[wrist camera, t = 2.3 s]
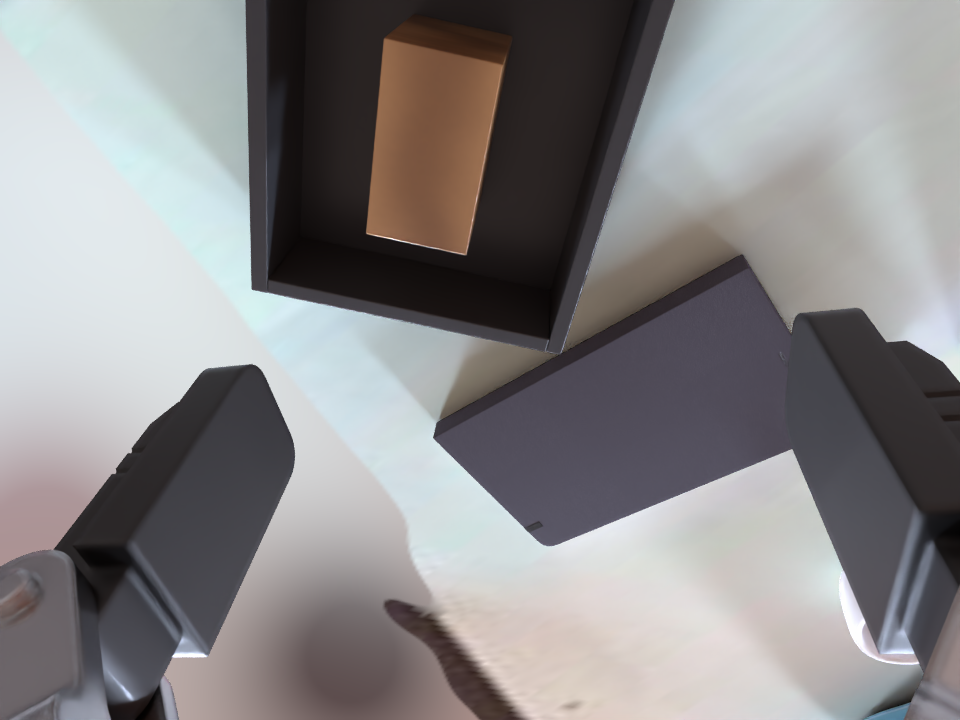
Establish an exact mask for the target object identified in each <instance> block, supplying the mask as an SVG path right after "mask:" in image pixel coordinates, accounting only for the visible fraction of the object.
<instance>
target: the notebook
mask: <svg viewBox="0 0 960 720" xmlns="http://www.w3.org/2000/svg"><path fill="white" fill-rule="evenodd" d="M791 337H792V335H791V333H790V332H789V330H788V328H787V327H786V325H785V323H784V322H783V320H782V318H781V317H780V315H779V313H778V312H777V310H776V309H775V307H774V305H773V304H772V302H771V300H770V299H769V297H768V295H767V294H766V292H765V290H764V289H763V287H762V285H761V284H760V282H759V281H758V279H757V277H756V276H755V274H754V272H753V271H752V269H751V267H750V266H749V264H748V262H747V261H746V259H745V257H744V256H743V255H740V256H738V257H736V258H735V259H733V260H731V261H729V262H727V263H726V264H724V265H722V266H720V267H718V268H716V269H715V270H713V271H711V272H709V273H707V274H706V275H704V276H702V277H700V278H698V279H697V280H695V281H693V282H691V283H689V284H687V285H686V286H684V287H682V288H680V289H678V290H677V291H675V292H673V293H671V294H669V295H668V296H666V297H664V298H662V299H660V300H658V301H657V302H655V303H653V304H651V305H649V306H648V307H646V308H644V309H642V310H640V311H639V312H637V313H635V314H633V315H631V316H629V317H628V318H626V319H624V320H622V321H620V322H619V323H617V324H615V325H613V326H611V327H610V328H608V329H606V330H604V331H602V332H600V333H599V334H597V335H595V336H593V337H591V338H590V339H588V340H586V341H584V342H582V343H581V344H579V345H577V346H575V347H573V348H571V349H570V350H568V351H566V352H564V353H562V354H561V355H559V356H557V357H555V358H553V359H552V360H550V361H548V362H546V363H544V364H542V365H541V366H539V367H537V368H535V369H533V370H532V371H530V372H528V373H526V374H524V375H523V376H521V377H519V378H517V379H515V380H513V381H512V382H510V383H508V384H506V385H504V386H503V387H501V388H499V389H497V390H495V391H494V392H492V393H490V394H488V395H486V396H484V397H483V398H481V399H479V400H477V401H475V402H474V403H472V404H470V405H468V406H466V407H465V408H463V409H461V410H459V411H457V412H456V413H454V414H452V415H450V416H448V417H446V418H445V419H443V420H441V421H439V422H437V424H436V428H435V432H434V436H433V438H434V439H435V440H436V441H437V442H438V443H439V444H440V445H441V446H442V447H443V448H444V449H445V450H446V451H447V452H448V453H449V454H450V455H451V456H452V457H453V458H454V459H455V460H456V461H457V462H458V463H459V464H460V465H461V466H462V467H463V468H464V469H465V470H466V471H467V472H468V473H469V474H470V475H471V476H472V477H473V478H474V479H475V480H476V481H477V482H478V483H479V484H480V485H481V486H482V487H483V488H484V489H485V490H486V491H487V492H489V493H490V494H491V495H492V496H493V497H494V498H495V499H496V500H497V501H498V502H499V503H500V504H501V505H502V506H503V507H504V508H505V509H506V510H507V511H508V512H509V513H510V514H511V515H512V516H513V517H514V518H515V519H516V520H517V521H518V522H519V523H520V524H521V525H522V526H523V527H524V528H525V529H526V530H527V531H528V532H529V533H530V534H531V535H532V536H533V537H534V538H535V539H536V540H537V541H538V542H540V543H541V544H542V545H545V546H554V545H557V544H560V543H562V542H565V541H567V540H570V539H572V538H575V537H577V536H580V535H582V534H584V533H587V532H589V531H592V530H594V529H597V528H599V527H602V526H604V525H607V524H609V523H611V522H614V521H616V520H619V519H621V518H624V517H626V516H629V515H631V514H633V513H636V512H638V511H641V510H643V509H646V508H648V507H651V506H653V505H656V504H658V503H660V502H663V501H665V500H668V499H670V498H673V497H675V496H678V495H680V494H682V493H685V492H687V491H690V490H692V489H695V488H697V487H700V486H702V485H705V484H707V483H709V482H712V481H714V480H717V479H719V478H722V477H724V476H727V475H729V474H731V473H734V472H736V471H739V470H741V469H744V468H746V467H749V466H751V465H754V464H756V463H758V462H761V461H763V460H766V459H768V458H771V457H773V456H776V455H778V454H780V453H783V452H785V451H788V450H790V449H792V446H791V444H790V440H789V437H788V433H787V427H786V420H785V396H786V386H787V376H788V367H789V357H790V347H791Z"/></svg>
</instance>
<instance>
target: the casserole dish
mask: <svg viewBox="0 0 960 720" xmlns="http://www.w3.org/2000/svg"><path fill="white" fill-rule="evenodd" d="M909 705H910V703H907V704H904V705H901V706H897V707H894V708H891V709H888V710H885V711H882V712H879V713H877V714H874V715H871V716H869V717H867V718H865V719H863V720H904V717H905V715H906V713H907V710H908V708H909Z"/></svg>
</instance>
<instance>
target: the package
mask: <svg viewBox="0 0 960 720" xmlns="http://www.w3.org/2000/svg"><path fill="white" fill-rule="evenodd" d="M511 43H512V36H510V35H505V34H501V33H497V32H492V31H488V30H483V29H479V28H474V27H470V26H465V25H461V24H457V23H452V22H448V21H443V20H439V19H434V18H430V17H426V16H421V15H417V14H413V15H412V16H411V17H409V18H408V19H407V20H406V21H404V22H403V23H402V24H401V25H400V26H398V27H397V28H396V29H395V30H393V31H392V32H391V33H390V34H388V35H387V36H386V37H385V38H384V42H383V53H382V64H381V75H380V86H379V97H378V108H377V119H376V130H375V141H374V152H373V163H372V173H371V184H370V195H369V206H368V217H367V228H366V234H370V235H374V236H379V237H384V238H388V239H393V240H397V241H402V242H407V243H411V244H416V245H421V246H425V247H430V248H435V249H439V250H444V251H448V252H453V253H458V254H462V255H466V254H467V251H468V247H469V243H470V239H471V235H472V231H473V228H474V224H475V220H476V216H477V212H478V208H479V205H480V200H481V195H482V190H483V185H484V180H485V175H486V170H487V164H488V159H489V154H490V149H491V144H492V139H493V134H494V129H495V124H496V119H497V114H498V109H499V104H500V98H501V93H502V88H503V83H504V78H505V73H506V68H507V63H508V58H509V53H510V48H511Z"/></svg>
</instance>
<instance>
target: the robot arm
mask: <svg viewBox="0 0 960 720" xmlns="http://www.w3.org/2000/svg"><path fill="white" fill-rule="evenodd" d="M785 420H786V427H787V433H788V437H789V440H790V444H791V446H792V449H793V451H794V454H795V456H796V458H797V461H798V463H799V465H800V468H801V470H802V473H803V475H804V477H805V480H806V482H807V484H808V487H809V489H810V492H811V494H812V496H813V499H814V501H815V503H816V506H817V508H818V511H819V513H820V515H821V518H822V520H823V522H824V525H825V527H826V530H827V532H828V534H829V537H830V539H831V541H832V544H833V546H834V549H835V551H836V553H837V556H838V558H839V560H840V563H841V565H842V568H843V570H844V572H845V575H846V577H847V579H848V582H849V584H850V587H851V589H852V591H853V594H854V596H855V598H856V601H857V603H858V606H859V608H860V610H861V613H862V615H863V617H864V620H865V622H866V625H867V627H868V629H869V632H870V634H871V636H872V639H873V641H874V644H875V646H876V648H877V651H878V653H879V654H915V655H916V657H917V660H918V662H919V664H920V666H921V668H922V670H923V672H924V675H923V678H922V680H921V682H920V685H919V687H918V688H917V689H916V691H915V694H914V696H913V698H912V700H911V703H910V705H909V708H908V710H907V713H906V715H905V717H904V720H960V382H959V381H958V380H957V379H956V377H955V376H954V375H953V374H952V372H951V371H950V370H949V369H948V368H947V366H946V365H945V364H944V363H943V362H942V361H940V360H938V359H937V358H935V357H933V356H932V355H930V354H928V353H927V352H925V351H923V350H922V349H920V348H918V347H916V346H915V345H913V344H911V343H910V342H908V341H898V342H886V341H885V340H884V339H883V337H882V336H881V334H880V333H879V332H878V330H877V329H876V328H875V326H874V325H873V323H872V322H871V321H870V319H869V318H868V317H867V315H866V314H865V313H864V312H863V310H861V309H860V308H850V309H840V310H830V311H819V312H809V313H799V314H798V315H797V316H796V317H795V320H794V323H793V329H792V337H791V347H790V357H789V367H788V376H787V386H786V396H785ZM294 461H295V450H294V443H293V439H292V437H291V434H290V432H289V429H288V427H287V425H286V423H285V421H284V418H283V416H282V414H281V411H280V409H279V407H278V405H277V403H276V400H275V398H274V396H273V393H272V391H271V389H270V387H269V384H268V382H267V380H266V378H265V376H264V374H263V372H262V371H261V370H260V369H259V368H258V367H257V366H256V365H252V364H249V365H239V366H229V367H219V368H208V369H206V370H204V371H203V372H202V373H201V374H200V375H199V377H198V378H197V379H196V380H195V382H194V383H193V384H192V386H191V387H190V388H189V390H188V391H187V392H186V394H185V395H184V396H183V398H182V399H181V400H180V402H178V403H176V404H175V405H174V406H173V407H171V408H170V409H169V410H168V411H166V412H165V413H164V414H163V415H161V416H160V417H159V418H158V419H156V420H155V421H154V422H152V423H151V424H150V425H149V427H148V428H147V429H146V431H145V432H144V433H143V434H142V436H141V437H140V438H139V440H138V441H137V442H136V444H135V445H134V446H133V448H132V453H128V454H127V455H126V457H125V458H124V459H123V460H122V462H121V463H120V464H119V465H118V467H117V468H116V474H112V475H111V476H110V477H109V479H108V480H107V481H106V482H105V484H104V485H103V486H102V488H101V489H100V490H99V492H98V493H97V494H96V495H95V497H94V498H93V499H92V501H91V502H90V503H89V505H88V506H87V507H86V508H85V510H84V511H83V512H82V513H81V515H80V516H79V517H78V519H77V520H76V521H75V523H74V524H73V525H72V527H71V528H70V529H69V530H68V532H67V533H66V534H65V536H64V537H63V538H62V539H61V541H60V542H59V543H58V545H57V546H56V547H55V549H54V550H42V551H37V552H32V553H29V554H26V555H23V556H21V557H18V558H16V559H14V560H12V561H10V562H8V563H6V564H4V565H2V566H0V720H179V717H178V713H177V708H176V703H175V698H174V693H173V689H172V686H171V684H170V682H169V681H168V679H167V678H166V677H165V676H164V673H165V671H166V669H167V667H168V665H169V663H170V661H171V659H172V657H208V655H209V653H210V651H211V649H212V647H213V645H214V642H215V640H216V638H217V636H218V634H219V632H220V629H221V627H222V625H223V623H224V621H225V619H226V616H227V614H228V612H229V610H230V608H231V606H232V603H233V601H234V599H235V597H236V595H237V592H238V590H239V588H240V586H241V584H242V582H243V579H244V577H245V575H246V573H247V571H248V569H249V566H250V564H251V562H252V560H253V558H254V556H255V553H256V551H257V549H258V547H259V545H260V542H261V540H262V538H263V536H264V534H265V532H266V529H267V527H268V525H269V523H270V521H271V519H272V516H273V514H274V512H275V510H276V508H277V506H278V503H279V501H280V499H281V497H282V495H283V493H284V490H285V488H286V486H287V484H288V482H289V479H290V477H291V475H292V472H293V468H294Z"/></svg>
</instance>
